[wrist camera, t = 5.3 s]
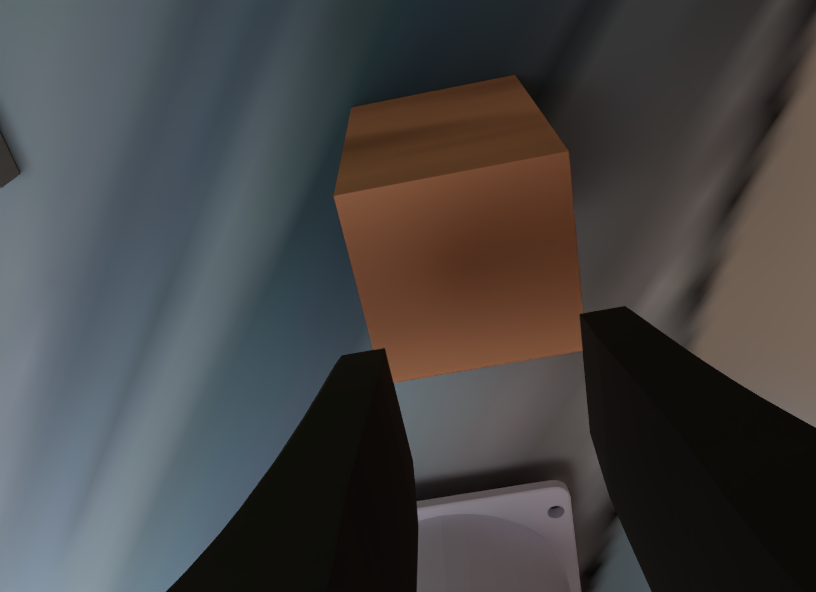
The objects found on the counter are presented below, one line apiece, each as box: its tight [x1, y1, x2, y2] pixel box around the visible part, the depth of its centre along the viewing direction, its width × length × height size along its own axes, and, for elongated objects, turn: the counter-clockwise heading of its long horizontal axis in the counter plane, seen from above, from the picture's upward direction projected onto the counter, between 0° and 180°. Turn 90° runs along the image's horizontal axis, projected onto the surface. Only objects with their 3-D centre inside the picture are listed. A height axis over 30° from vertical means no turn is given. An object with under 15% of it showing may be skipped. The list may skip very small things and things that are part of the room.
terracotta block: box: [334, 75, 583, 383], centre depth 16 cm, size 4×4×6 cm
